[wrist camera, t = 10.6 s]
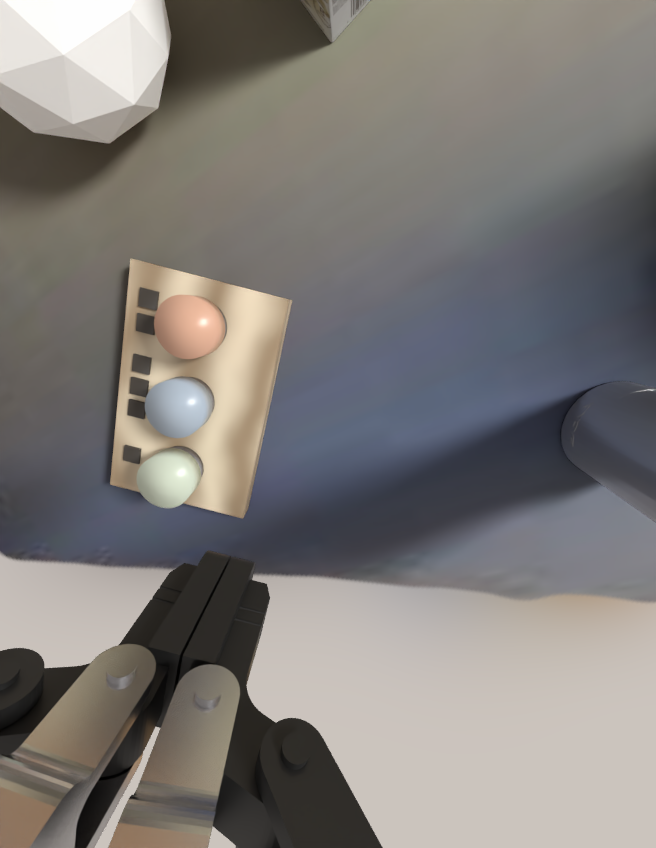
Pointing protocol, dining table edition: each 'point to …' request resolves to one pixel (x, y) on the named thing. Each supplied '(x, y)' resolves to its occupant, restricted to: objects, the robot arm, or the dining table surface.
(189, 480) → the pale green button
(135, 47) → the geometric shape
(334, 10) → the coffee box
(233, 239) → the dining table surface
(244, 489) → the button board
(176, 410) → the three dot button
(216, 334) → the two dot button
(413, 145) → the dining table surface
